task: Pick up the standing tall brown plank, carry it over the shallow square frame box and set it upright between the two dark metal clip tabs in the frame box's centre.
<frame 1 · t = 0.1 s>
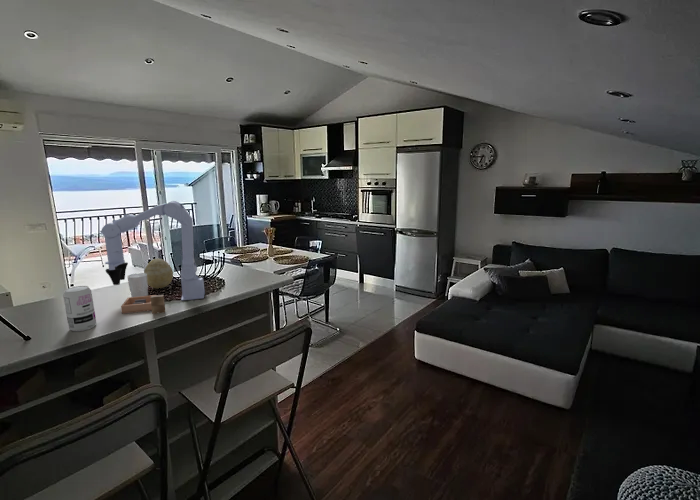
hand: (119, 282, 153), 10 cm above the counter, fingers open, 7 cm apart
shallow square frame box: (140, 307, 152), on the counter
supplement can: (83, 327, 132), on the counter
tall brown plank: (159, 312, 147), on the counter
fossilized egg: (160, 288, 178), on the counter
white cup: (139, 296, 166), on the counter
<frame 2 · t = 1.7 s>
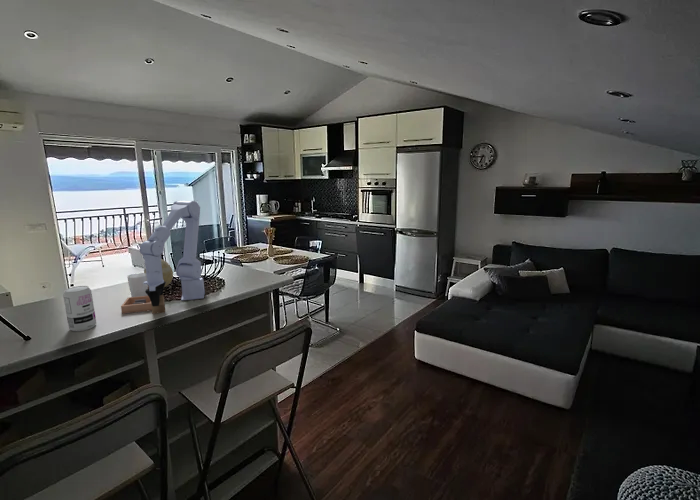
hand: (157, 302, 146), 4 cm above the counter, fingers open, 7 cm apart
nothing on the counter moved.
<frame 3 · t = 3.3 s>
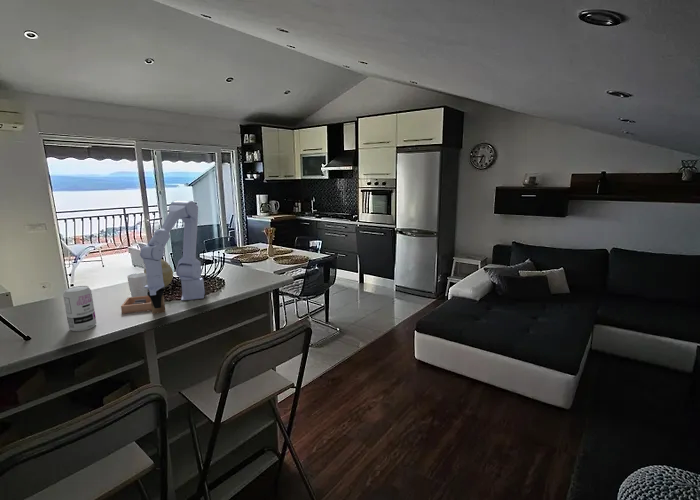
hand: (158, 306, 146), 2 cm above the counter, fingers closed on tall brown plank, 2 cm apart
tall brown plank: (159, 312, 147), on the counter, touching gripper
everything else where it was.
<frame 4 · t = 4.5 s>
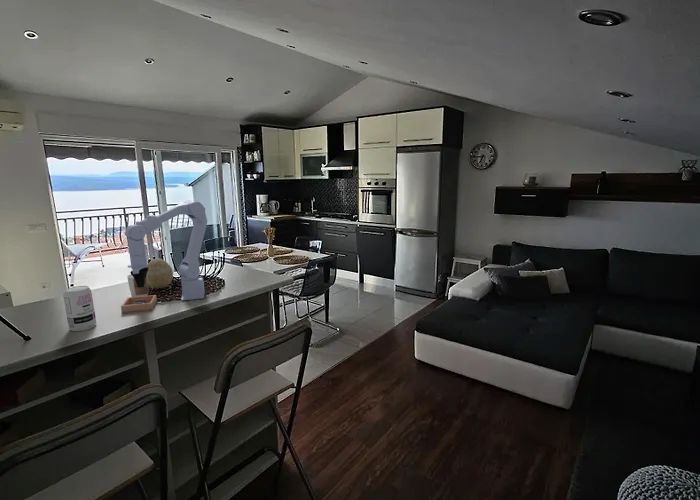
hand: (141, 286, 148), 10 cm above the counter, fingers closed on tall brown plank
tall brown plank: (142, 293, 149), point 7 cm above the counter, touching gripper
everything else where it was.
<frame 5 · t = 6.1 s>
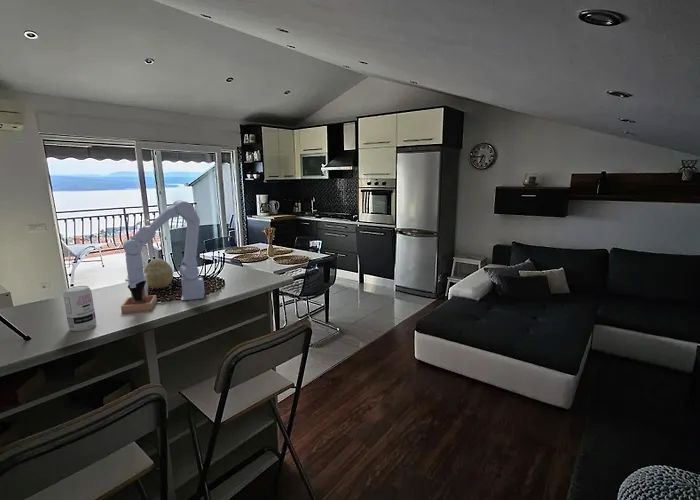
hand: (139, 299, 151), 4 cm above the counter, fingers closed on tall brown plank, 2 cm apart
tall brown plank: (140, 305, 152), point 1 cm above the counter, touching gripper, shallow square frame box
everything else where it was.
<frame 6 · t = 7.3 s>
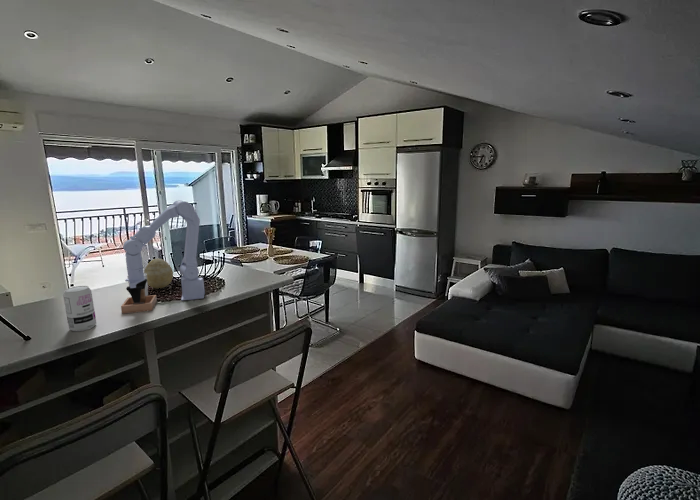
hand: (139, 299, 151), 4 cm above the counter, fingers open, 7 cm apart
tall brown plank: (140, 305, 152), point 1 cm above the counter, touching shallow square frame box
everything else where it was.
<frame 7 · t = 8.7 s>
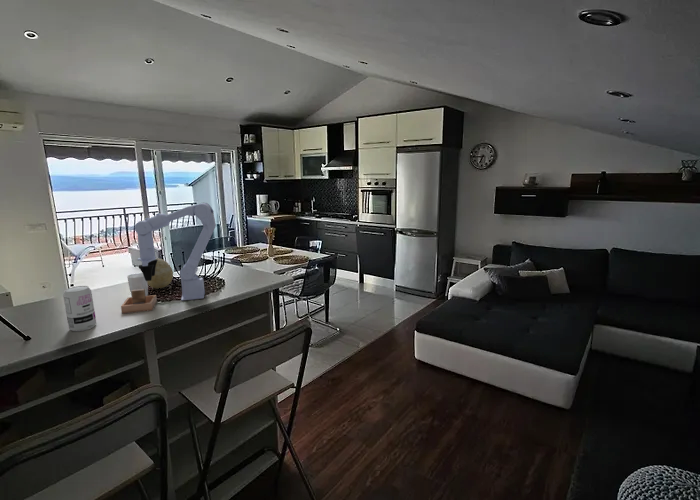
hand: (150, 278, 158), 10 cm above the counter, fingers open, 7 cm apart
nothing on the counter moved.
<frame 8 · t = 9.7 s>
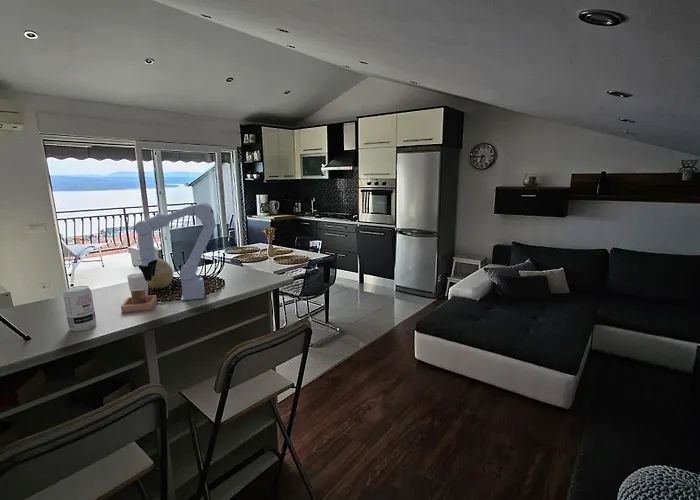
hand: (150, 278, 158), 10 cm above the counter, fingers open, 7 cm apart
nothing on the counter moved.
at the end: tall brown plank 0.0 cm off-centre on the shallow square frame box, point 0.8 cm above the shallow square frame box's base; tall brown plank tilted 0°; the gripper is holding nothing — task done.
